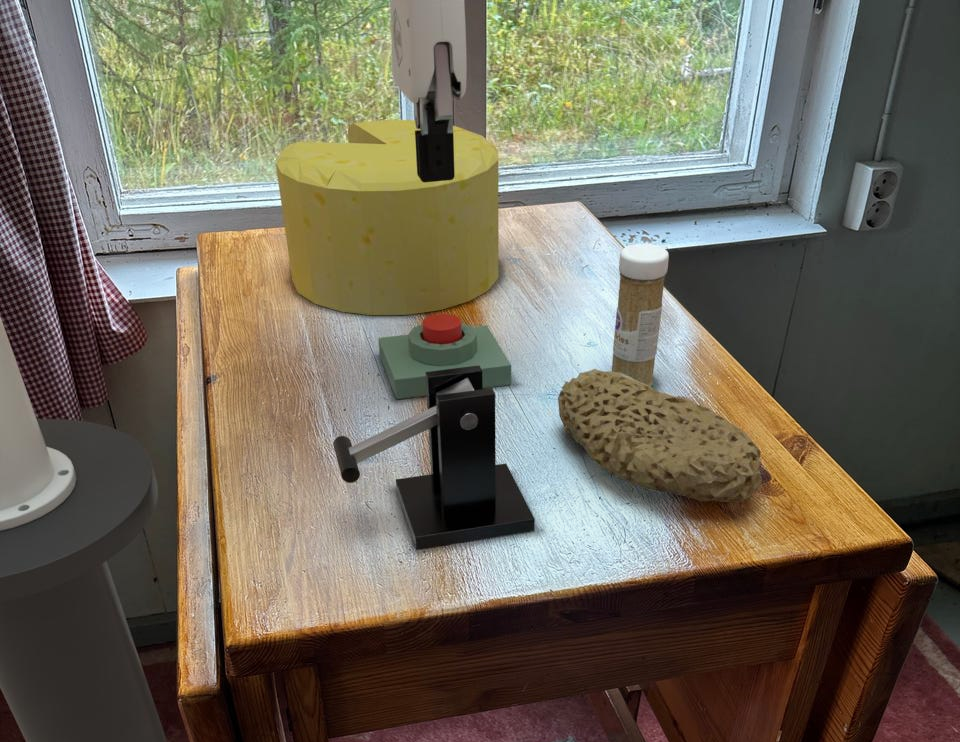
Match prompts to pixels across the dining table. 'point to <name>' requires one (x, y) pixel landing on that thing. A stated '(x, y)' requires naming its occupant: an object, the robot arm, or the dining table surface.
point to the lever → (387, 437)
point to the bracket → (462, 471)
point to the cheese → (389, 221)
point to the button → (442, 329)
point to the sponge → (659, 438)
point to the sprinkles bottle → (639, 310)
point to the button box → (441, 359)
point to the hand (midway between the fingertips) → (435, 178)
